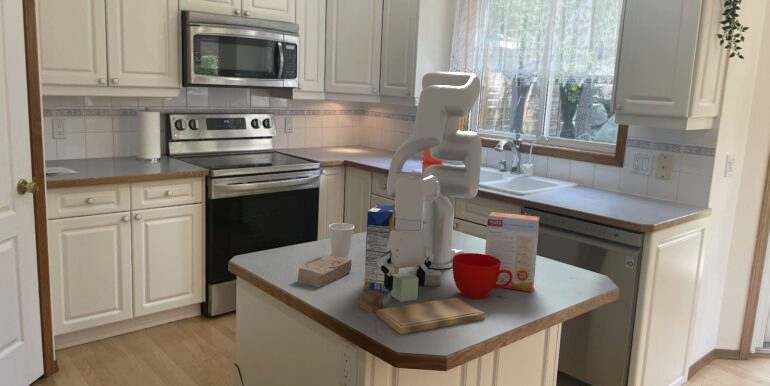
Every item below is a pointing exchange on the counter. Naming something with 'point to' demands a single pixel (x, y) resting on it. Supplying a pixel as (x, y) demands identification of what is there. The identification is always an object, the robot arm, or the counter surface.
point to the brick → (324, 270)
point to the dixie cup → (341, 239)
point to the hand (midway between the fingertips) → (404, 287)
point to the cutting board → (429, 315)
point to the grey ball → (433, 278)
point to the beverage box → (377, 245)
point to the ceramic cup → (477, 274)
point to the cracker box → (513, 247)
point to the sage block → (405, 287)
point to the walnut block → (371, 301)
